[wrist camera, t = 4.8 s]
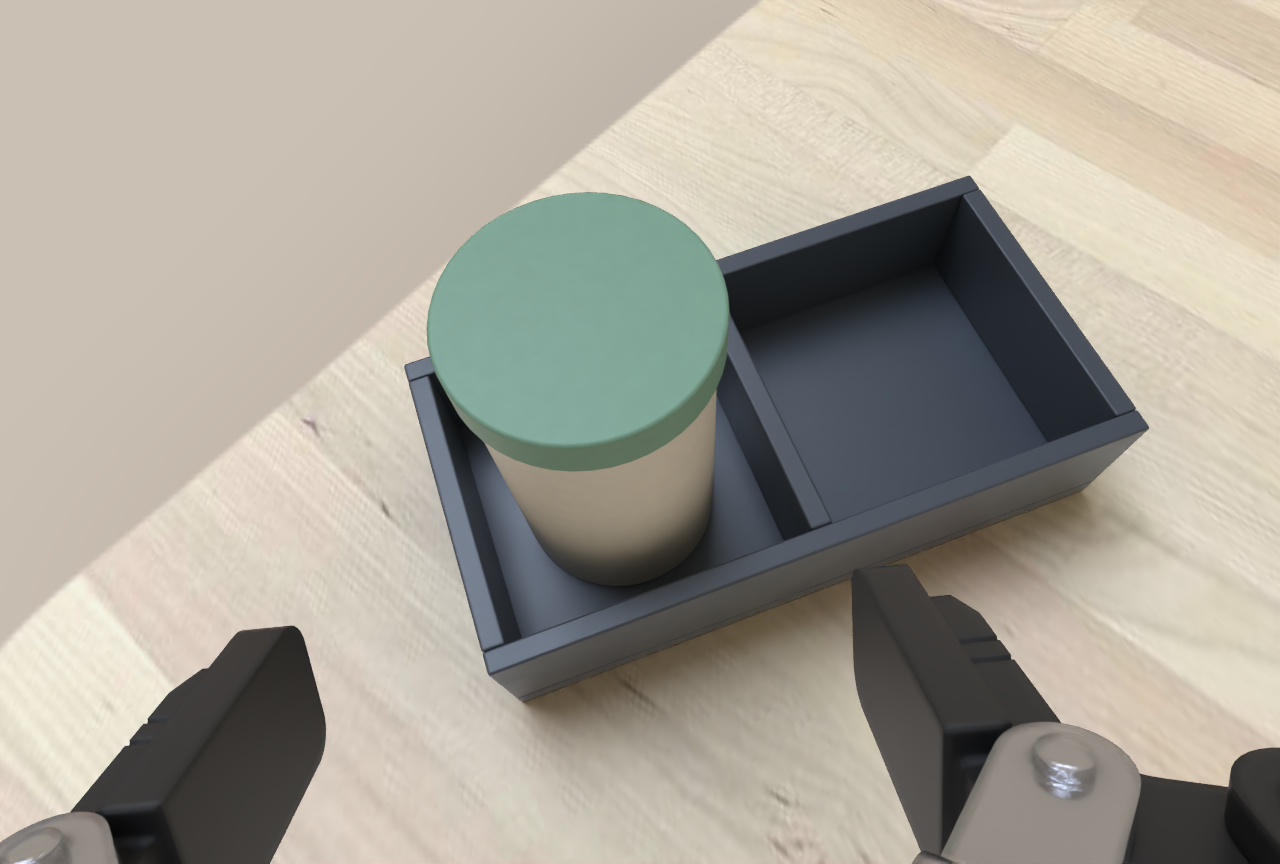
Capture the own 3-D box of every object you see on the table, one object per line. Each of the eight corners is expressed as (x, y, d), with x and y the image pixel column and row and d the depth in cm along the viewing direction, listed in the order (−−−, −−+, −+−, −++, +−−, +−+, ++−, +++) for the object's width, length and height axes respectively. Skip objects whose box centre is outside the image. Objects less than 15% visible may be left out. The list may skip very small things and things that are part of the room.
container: (554, 623, 24) (468, 493, 15) (498, 445, 27) (396, 243, 18) (750, 551, 25) (779, 383, 16) (677, 383, 27) (665, 156, 18)
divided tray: (1083, 490, 26) (1151, 427, 22) (521, 703, 24) (487, 676, 20) (935, 261, 30) (970, 174, 26) (444, 430, 28) (403, 364, 24)
